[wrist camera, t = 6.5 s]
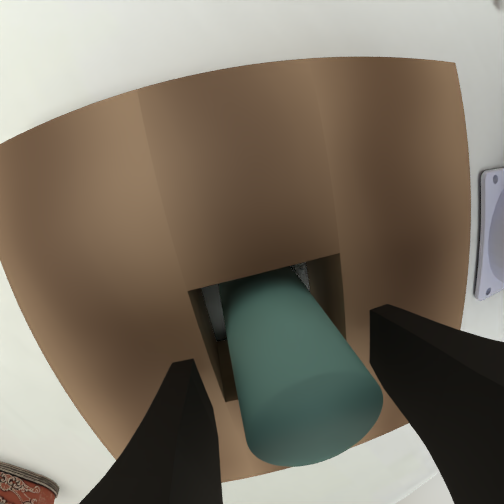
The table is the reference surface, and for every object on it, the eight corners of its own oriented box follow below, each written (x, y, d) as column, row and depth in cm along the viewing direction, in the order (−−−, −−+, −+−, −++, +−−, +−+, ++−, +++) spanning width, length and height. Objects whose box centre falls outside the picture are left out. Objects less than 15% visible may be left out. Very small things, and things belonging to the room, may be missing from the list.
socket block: (396, 76, 12) (455, 62, 8) (407, 365, 17) (442, 405, 14) (28, 152, 10) (-28, 159, 7) (147, 436, 16) (144, 491, 12)
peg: (286, 240, 13) (385, 349, 6) (298, 307, 14) (379, 439, 7) (210, 260, 13) (229, 399, 6) (229, 326, 14) (261, 478, 7)
